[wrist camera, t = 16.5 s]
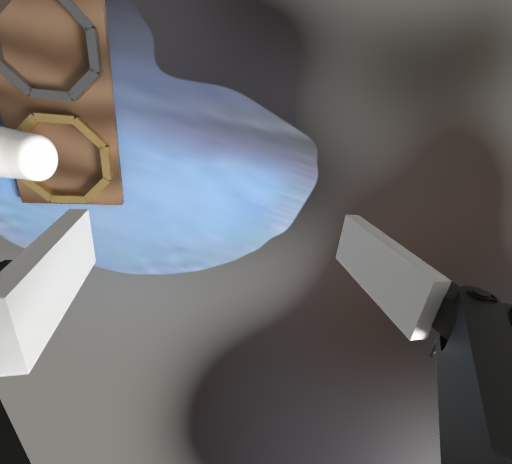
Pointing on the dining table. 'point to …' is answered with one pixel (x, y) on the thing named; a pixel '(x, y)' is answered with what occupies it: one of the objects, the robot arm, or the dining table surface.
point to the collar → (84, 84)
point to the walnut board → (61, 79)
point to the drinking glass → (26, 155)
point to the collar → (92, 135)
